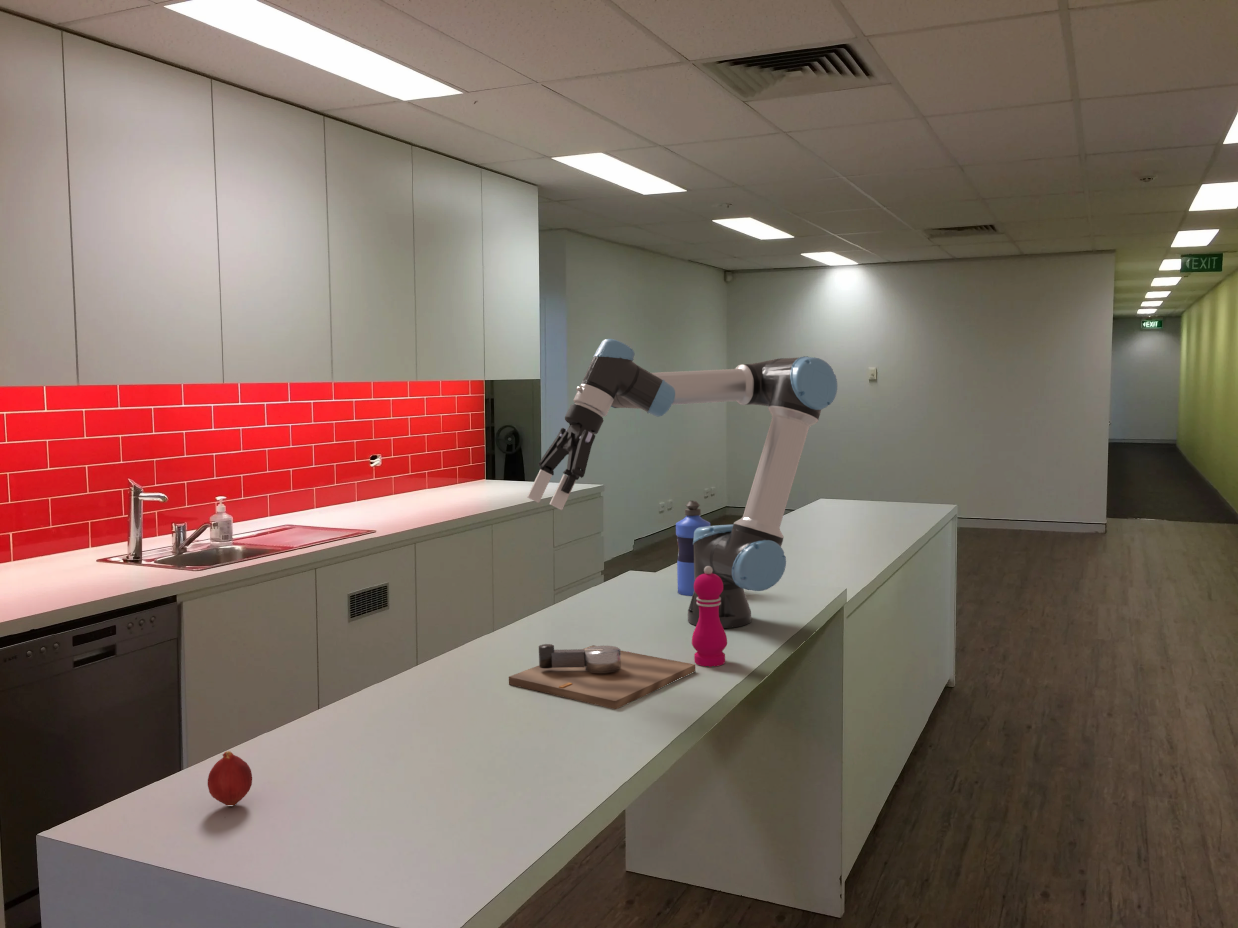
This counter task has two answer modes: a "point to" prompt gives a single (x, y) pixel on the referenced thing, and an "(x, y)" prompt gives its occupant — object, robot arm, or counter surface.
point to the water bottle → (687, 547)
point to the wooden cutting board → (605, 680)
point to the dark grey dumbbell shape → (581, 658)
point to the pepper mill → (709, 621)
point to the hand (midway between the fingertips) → (543, 503)
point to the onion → (229, 779)
